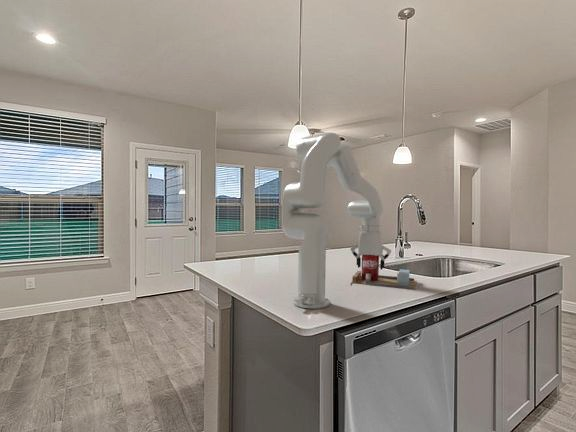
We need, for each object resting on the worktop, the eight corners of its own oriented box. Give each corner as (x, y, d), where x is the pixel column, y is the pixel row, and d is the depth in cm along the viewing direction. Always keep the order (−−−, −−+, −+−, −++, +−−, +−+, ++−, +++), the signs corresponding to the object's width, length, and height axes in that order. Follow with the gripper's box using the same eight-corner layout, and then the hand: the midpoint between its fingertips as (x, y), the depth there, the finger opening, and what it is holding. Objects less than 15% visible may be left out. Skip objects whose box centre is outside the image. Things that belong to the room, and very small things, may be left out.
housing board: (416, 292, 125) (416, 279, 125) (350, 286, 135) (350, 273, 135) (416, 283, 140) (416, 271, 140) (357, 277, 150) (357, 266, 150)
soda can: (379, 283, 135) (379, 255, 135) (361, 282, 137) (362, 254, 136) (377, 279, 142) (378, 252, 142) (361, 278, 144) (361, 251, 143)
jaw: (408, 287, 129) (408, 275, 128) (396, 286, 130) (397, 274, 130) (409, 281, 139) (409, 269, 139) (398, 280, 140) (398, 269, 140)
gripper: (349, 229, 139) (348, 267, 139) (391, 230, 132) (390, 271, 133) (352, 227, 146) (352, 264, 146) (392, 229, 139) (391, 268, 140)
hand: (370, 268), depth 139 cm, fingers open, 9 cm apart
